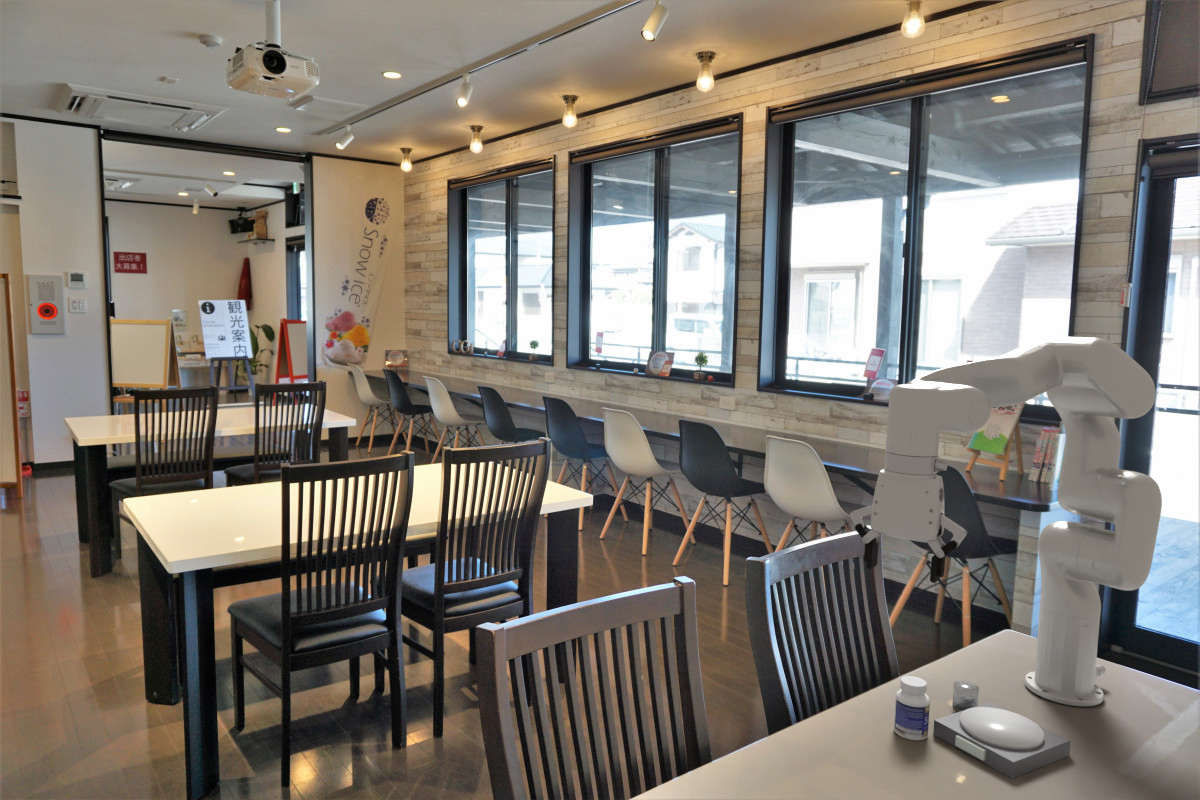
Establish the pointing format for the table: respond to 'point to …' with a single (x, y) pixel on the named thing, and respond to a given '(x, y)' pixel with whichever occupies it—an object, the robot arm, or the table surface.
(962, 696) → the cylinder
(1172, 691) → the table surface
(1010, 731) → the scale
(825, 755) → the table surface
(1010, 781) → the table surface
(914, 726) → the pill bottle
